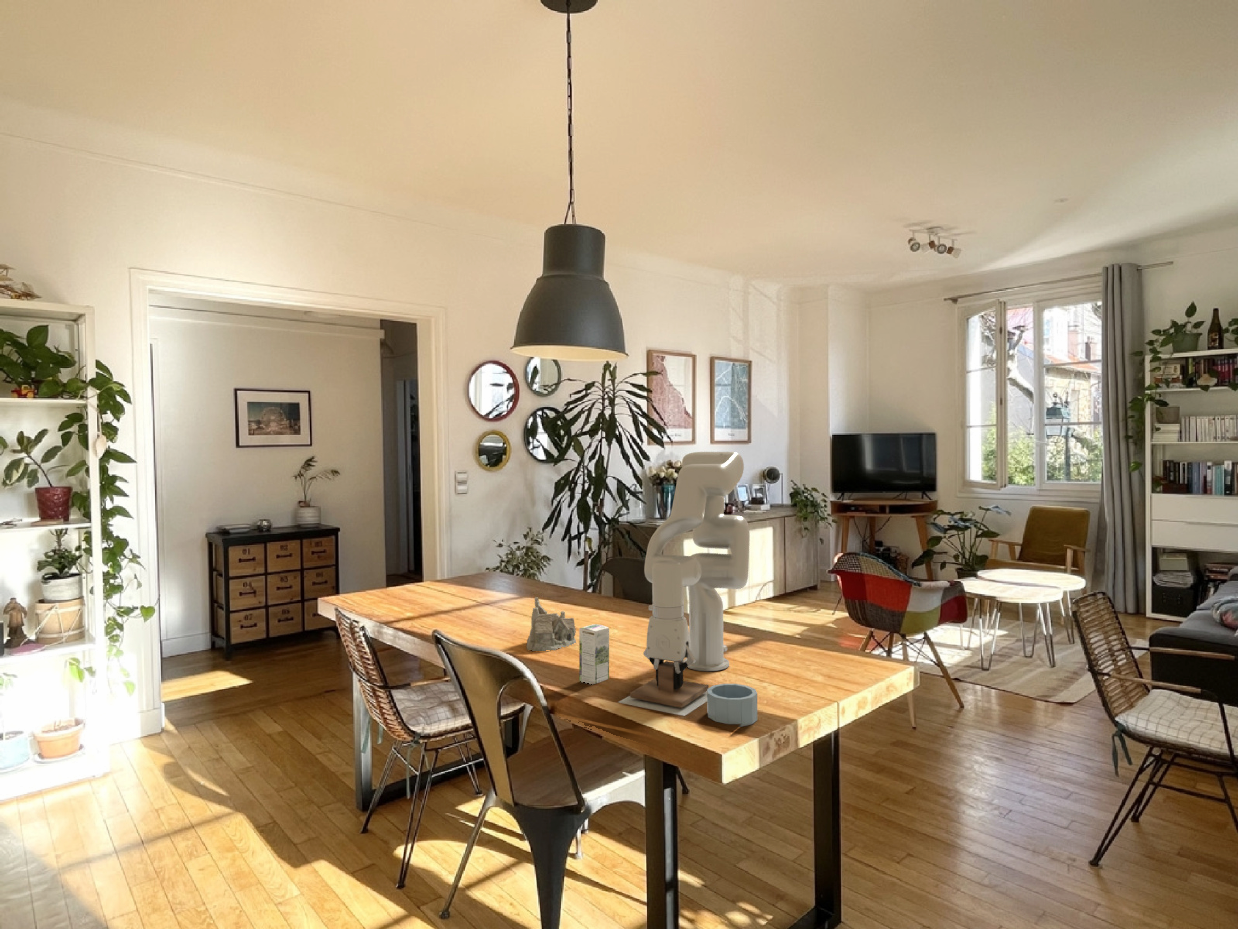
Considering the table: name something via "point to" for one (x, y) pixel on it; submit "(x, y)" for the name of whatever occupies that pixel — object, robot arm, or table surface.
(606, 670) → the syrup box
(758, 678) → the table surface
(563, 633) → the ceramic cottage
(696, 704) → the grey mat
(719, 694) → the slate bowl
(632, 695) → the walnut lid
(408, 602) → the table surface
